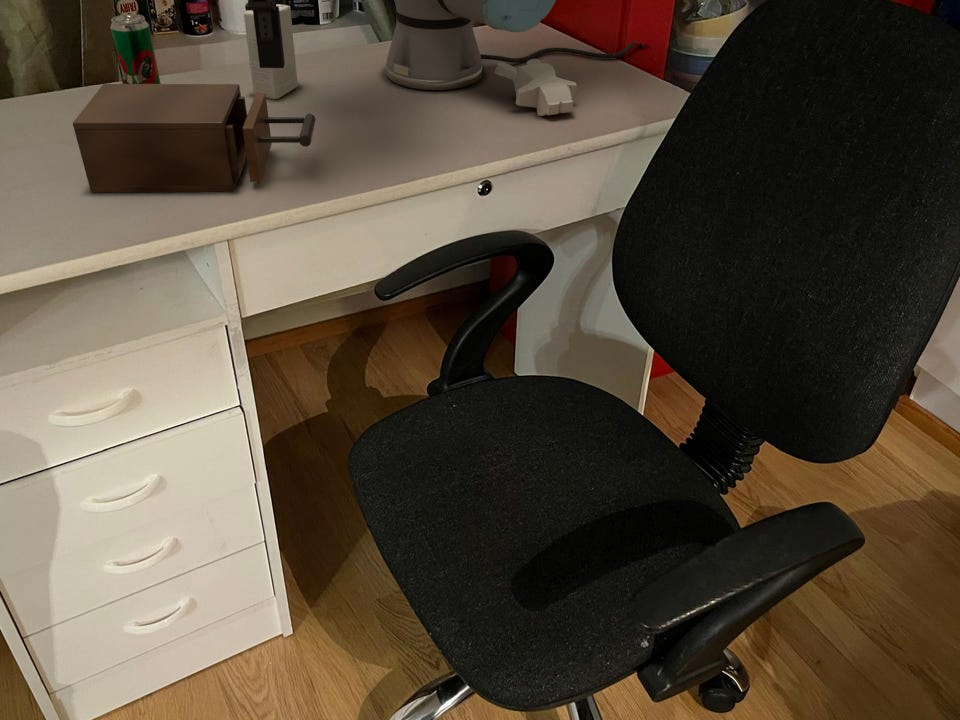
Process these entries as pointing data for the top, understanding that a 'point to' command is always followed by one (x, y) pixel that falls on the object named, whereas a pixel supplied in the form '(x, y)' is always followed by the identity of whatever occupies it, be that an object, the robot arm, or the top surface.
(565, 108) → the white blocky figurine
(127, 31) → the soda can
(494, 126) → the top surface
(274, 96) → the cosmetic box
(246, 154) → the drawer
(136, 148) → the cabinet
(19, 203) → the top surface
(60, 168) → the top surface
